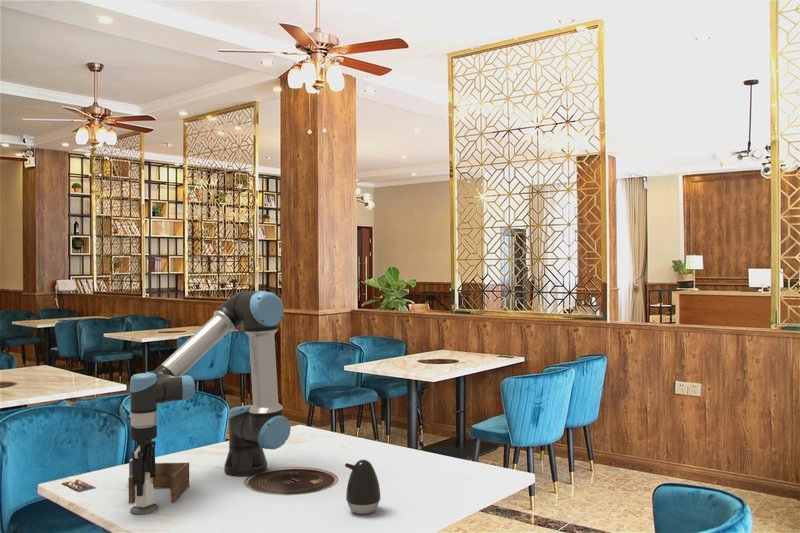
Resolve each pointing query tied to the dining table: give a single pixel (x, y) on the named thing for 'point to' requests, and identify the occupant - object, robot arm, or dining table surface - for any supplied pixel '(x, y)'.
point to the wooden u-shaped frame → (167, 479)
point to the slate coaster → (144, 509)
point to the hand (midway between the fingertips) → (144, 502)
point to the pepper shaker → (147, 490)
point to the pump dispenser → (362, 488)
